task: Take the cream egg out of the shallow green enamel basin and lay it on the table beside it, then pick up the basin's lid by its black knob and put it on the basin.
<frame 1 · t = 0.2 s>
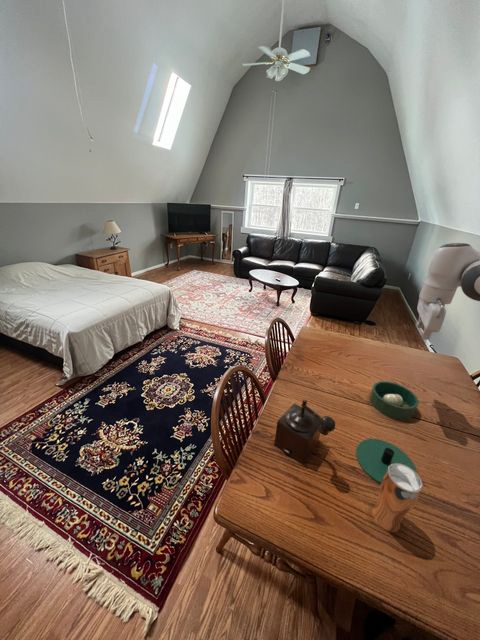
hand: (422, 332, 92), 28 cm above the table, tool pointing down, fingers open, 8 cm apart
manual coffee grinder: (303, 448, 80), on the table
lid: (385, 462, 76), point 1 cm above the table
basin: (390, 405, 99), on the table
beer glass: (385, 519, 63), on the table
egg: (391, 404, 98), resting on basin
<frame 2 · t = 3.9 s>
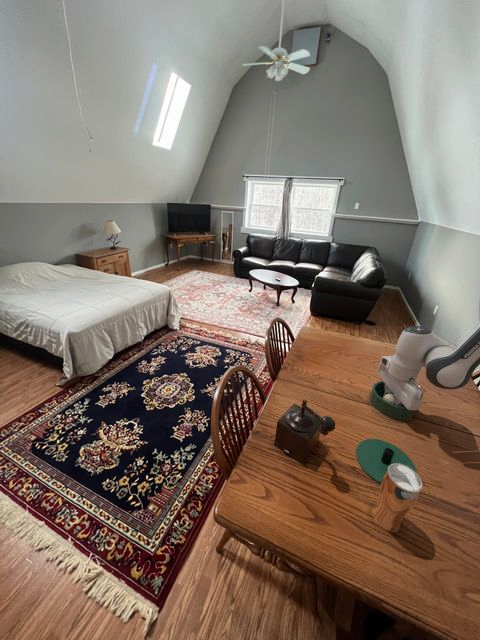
hand: (391, 401, 98), 2 cm above the table, tool pointing down, fingers closed on egg, 4 cm apart
egg: (391, 404, 98), resting on basin, touching gripper
everything else where it was.
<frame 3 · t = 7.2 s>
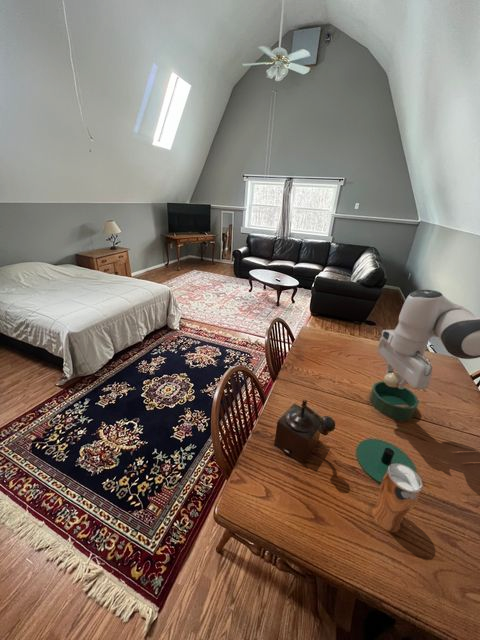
hand: (394, 381, 84), 17 cm above the table, tool pointing down, fingers closed on egg, 4 cm apart
egg: (393, 385, 85), point 15 cm above the table, touching gripper
everything else where it was.
when the fingers open (1 cm above the table, at t = 11.1 s): egg stays where it is, on the table.
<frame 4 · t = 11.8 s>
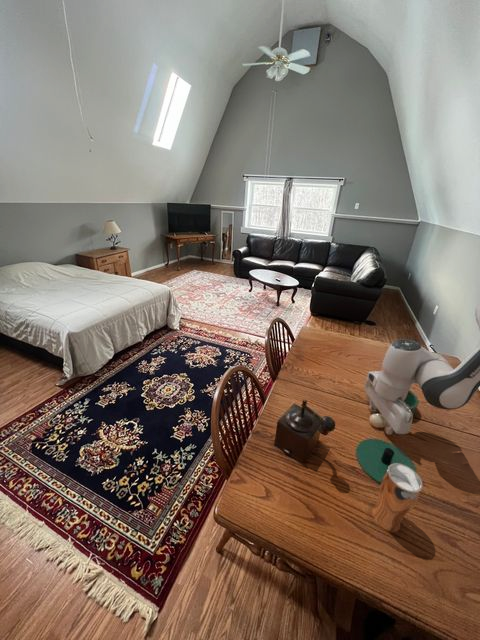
hand: (379, 421, 89), 2 cm above the table, tool pointing down, fingers open, 8 cm apart
egg: (378, 425, 90), on the table
everything else where it was.
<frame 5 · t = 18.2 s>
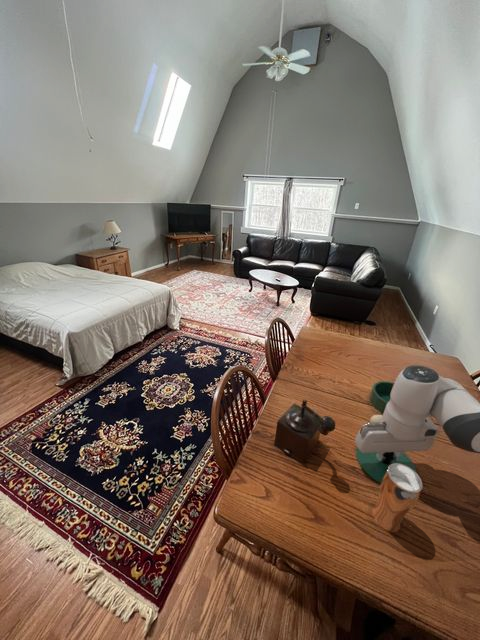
hand: (386, 458, 76), 2 cm above the table, tool pointing down, fingers closed on lid, 2 cm apart
lid: (385, 462, 76), point 1 cm above the table, touching gripper
egg: (378, 425, 90), on the table, tilted 14°
everything else where it was.
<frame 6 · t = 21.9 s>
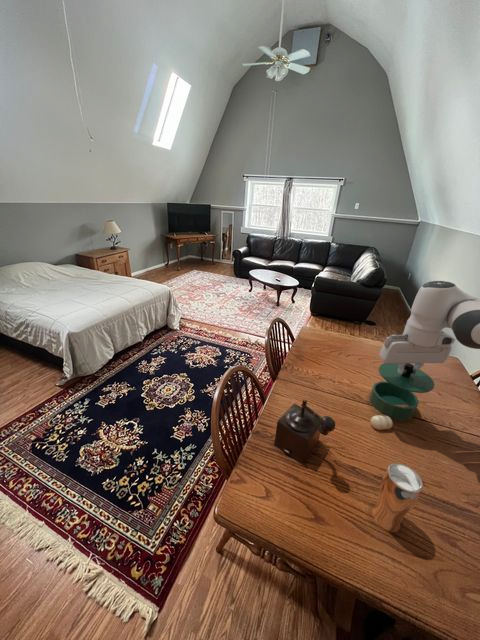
hand: (406, 373, 85), 19 cm above the table, tool pointing down, fingers closed on lid, 2 cm apart
lid: (405, 376, 86), point 17 cm above the table, touching gripper
egg: (378, 425, 90), on the table, tilted 20°
everything else where it was.
when the fingers open (7 cm above the table, at t = 25.6 s): lid stays where it is, resting on basin.
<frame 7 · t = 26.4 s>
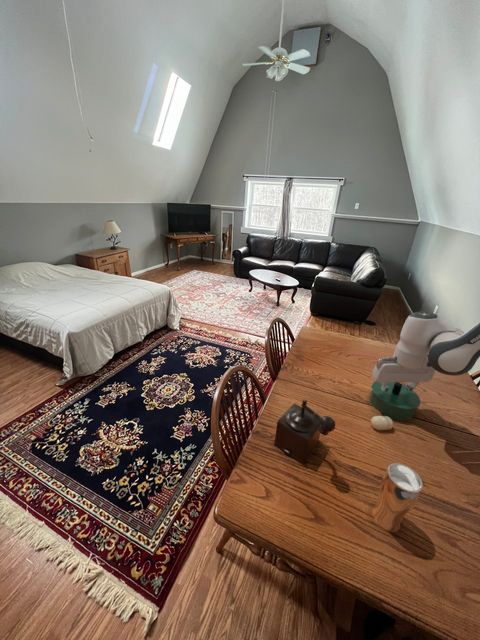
hand: (396, 390, 96), 7 cm above the table, tool pointing down, fingers open, 8 cm apart
lid: (394, 394, 96), point 5 cm above the table, touching basin
egg: (378, 425, 89), on the table, tilted 27°
everything else where it was.
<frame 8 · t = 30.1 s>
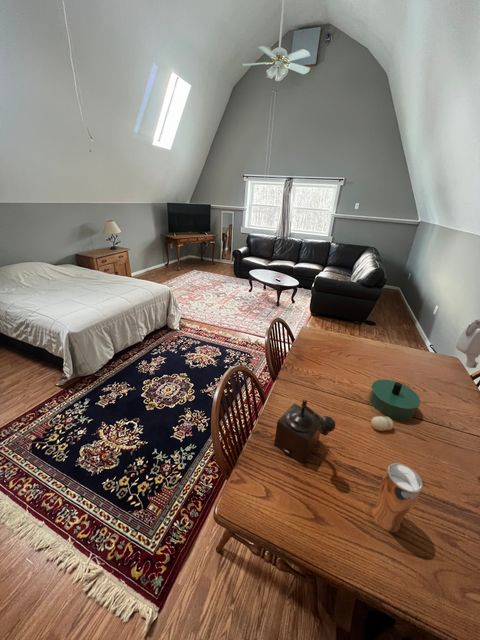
nothing on the table moved.
at the end: egg inside the target area on the table beside the basin (0.1 cm from its centre), on the table; lid 0.1 cm off-centre on the basin, point 5.5 cm above the basin's base; lid tilted 0° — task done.
